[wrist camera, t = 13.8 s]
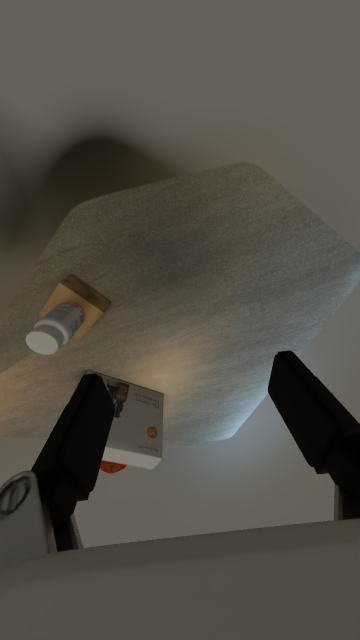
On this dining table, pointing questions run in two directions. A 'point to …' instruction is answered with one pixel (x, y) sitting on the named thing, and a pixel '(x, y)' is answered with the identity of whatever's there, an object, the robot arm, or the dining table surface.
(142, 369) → the dining table surface
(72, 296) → the block
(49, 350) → the pill bottle
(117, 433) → the skincare box
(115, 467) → the apple
